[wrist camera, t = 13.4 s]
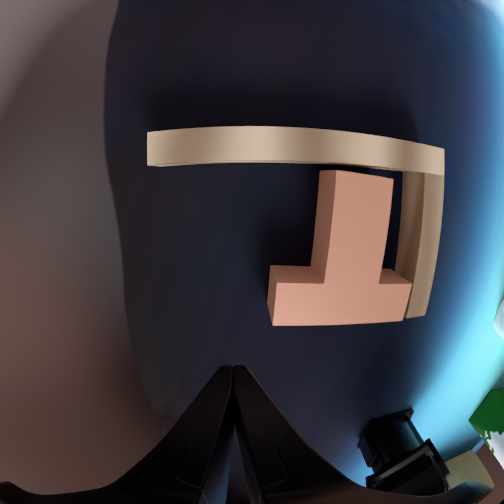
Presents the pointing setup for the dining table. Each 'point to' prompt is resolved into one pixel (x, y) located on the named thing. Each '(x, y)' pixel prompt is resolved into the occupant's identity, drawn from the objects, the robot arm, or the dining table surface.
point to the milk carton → (491, 422)
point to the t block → (343, 260)
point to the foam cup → (500, 320)
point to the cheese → (467, 470)
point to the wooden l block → (333, 153)
